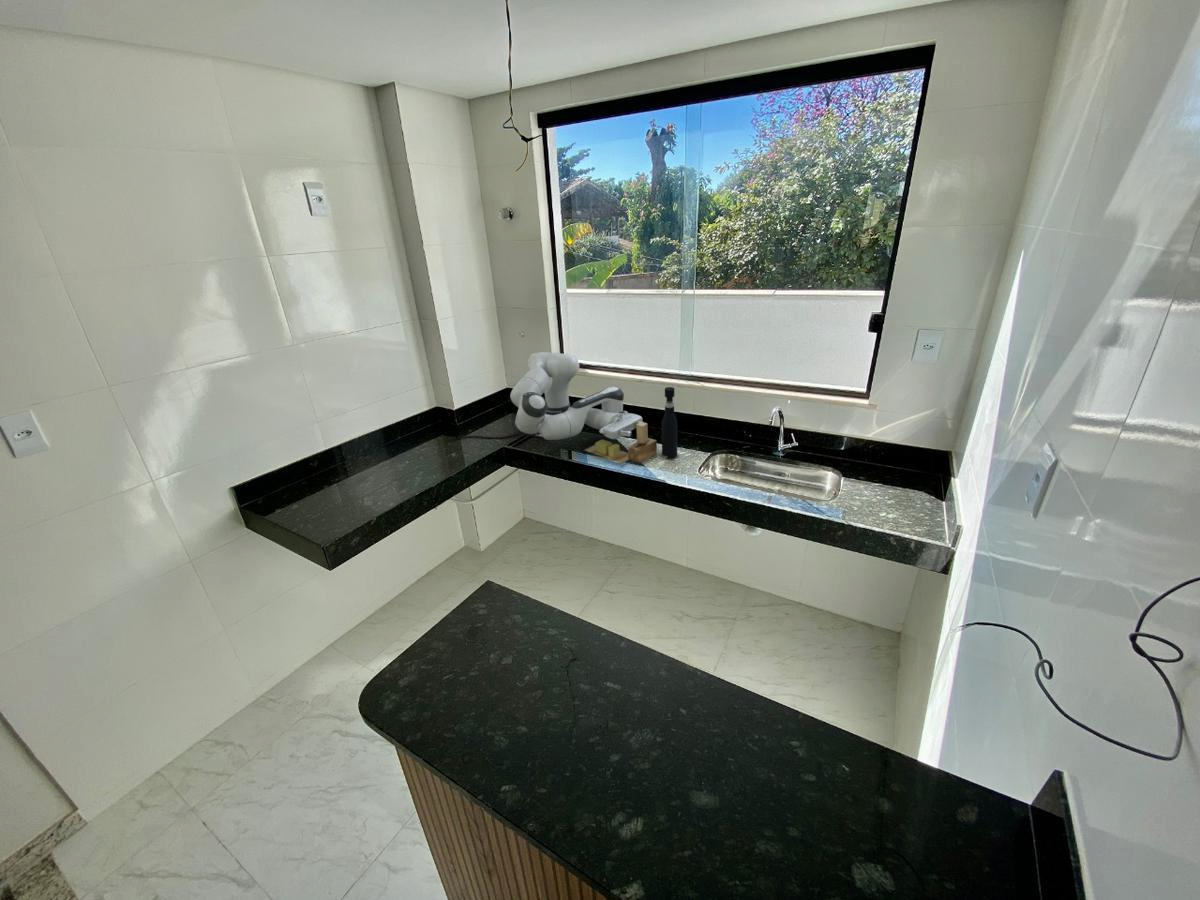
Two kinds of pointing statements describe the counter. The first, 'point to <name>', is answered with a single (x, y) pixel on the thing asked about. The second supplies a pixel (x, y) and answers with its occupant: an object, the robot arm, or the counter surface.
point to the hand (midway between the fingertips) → (637, 430)
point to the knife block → (642, 451)
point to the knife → (642, 433)
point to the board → (619, 457)
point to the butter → (603, 446)
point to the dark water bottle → (669, 427)
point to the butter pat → (614, 450)
